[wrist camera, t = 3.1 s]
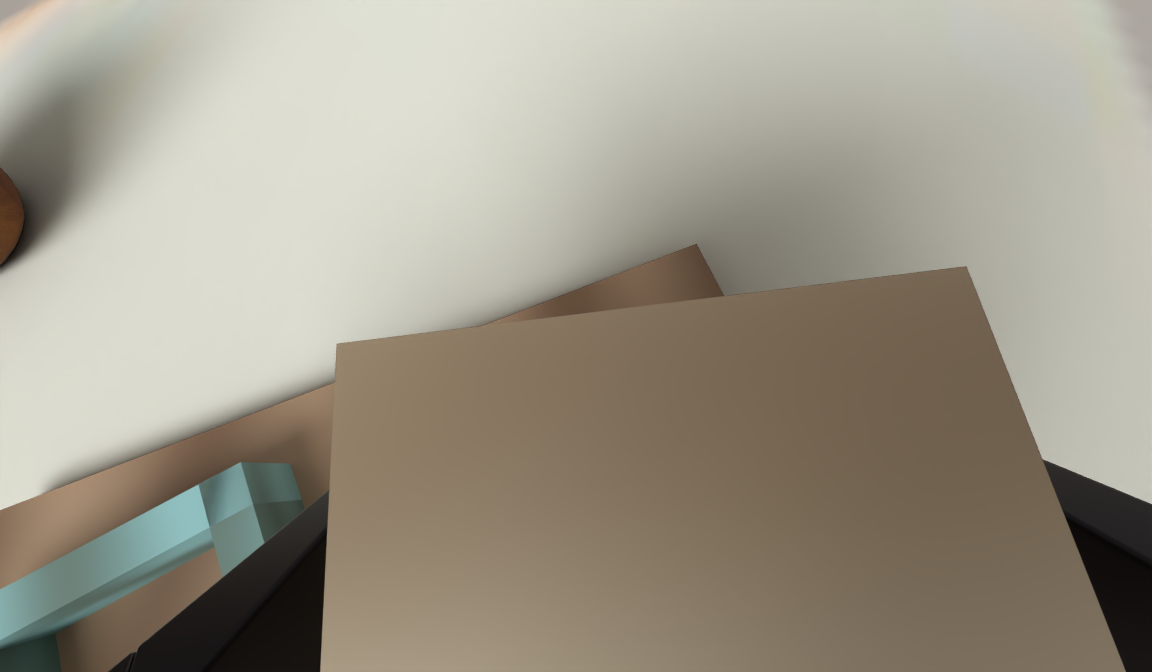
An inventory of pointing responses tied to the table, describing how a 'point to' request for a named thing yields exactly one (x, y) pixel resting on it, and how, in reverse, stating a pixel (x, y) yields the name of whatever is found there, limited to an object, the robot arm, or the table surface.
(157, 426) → the table surface
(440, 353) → the birch block
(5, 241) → the wooden figurine
